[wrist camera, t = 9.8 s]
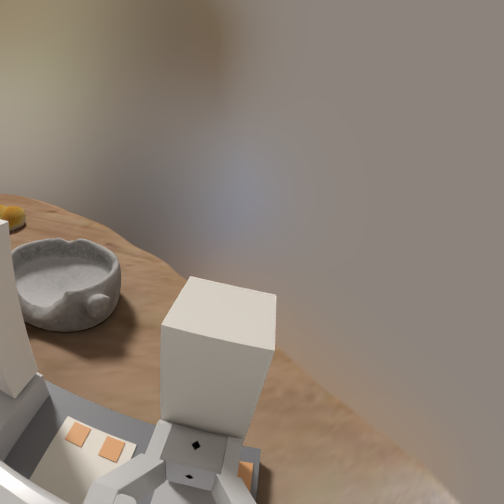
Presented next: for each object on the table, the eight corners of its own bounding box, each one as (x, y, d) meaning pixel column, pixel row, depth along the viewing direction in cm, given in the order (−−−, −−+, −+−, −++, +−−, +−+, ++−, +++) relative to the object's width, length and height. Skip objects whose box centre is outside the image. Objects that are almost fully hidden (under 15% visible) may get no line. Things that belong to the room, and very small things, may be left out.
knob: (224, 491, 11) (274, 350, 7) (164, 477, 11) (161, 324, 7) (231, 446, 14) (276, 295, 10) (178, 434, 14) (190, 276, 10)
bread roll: (18, 234, 39) (17, 211, 38) (-21, 233, 35) (-23, 211, 34) (31, 218, 46) (31, 198, 44) (-5, 218, 42) (-6, 198, 41)
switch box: (237, 614, 6) (250, 618, 4) (-61, 466, 6) (-88, 437, 4) (255, 458, 17) (267, 433, 15) (13, 372, 17) (1, 339, 16)
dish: (126, 339, 26) (124, 294, 24) (-5, 337, 19) (-19, 292, 17) (118, 268, 37) (119, 233, 36) (23, 267, 31) (19, 232, 29)
